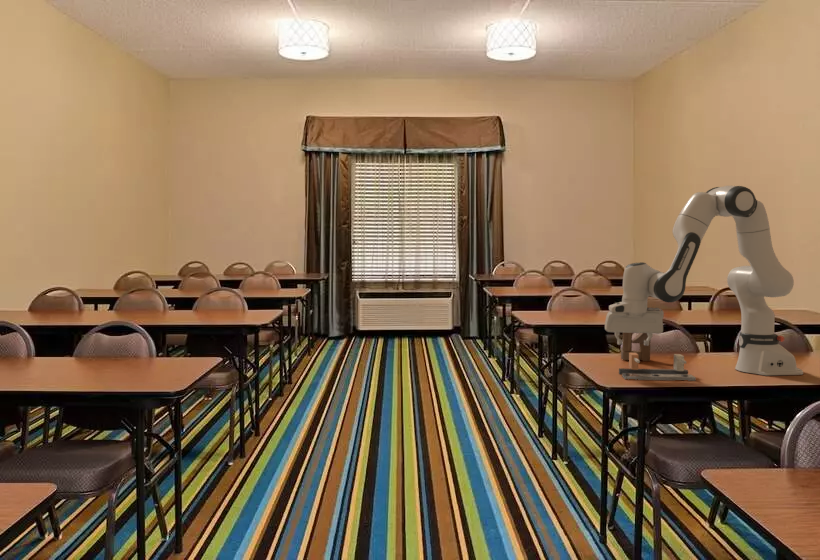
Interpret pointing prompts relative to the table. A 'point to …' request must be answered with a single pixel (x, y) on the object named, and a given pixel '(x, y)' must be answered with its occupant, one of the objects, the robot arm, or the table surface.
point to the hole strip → (659, 376)
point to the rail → (677, 369)
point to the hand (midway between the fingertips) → (633, 345)
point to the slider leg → (633, 361)
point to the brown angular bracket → (627, 346)
